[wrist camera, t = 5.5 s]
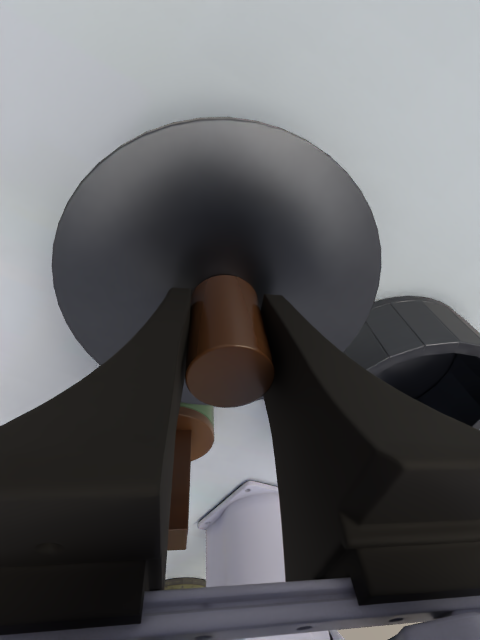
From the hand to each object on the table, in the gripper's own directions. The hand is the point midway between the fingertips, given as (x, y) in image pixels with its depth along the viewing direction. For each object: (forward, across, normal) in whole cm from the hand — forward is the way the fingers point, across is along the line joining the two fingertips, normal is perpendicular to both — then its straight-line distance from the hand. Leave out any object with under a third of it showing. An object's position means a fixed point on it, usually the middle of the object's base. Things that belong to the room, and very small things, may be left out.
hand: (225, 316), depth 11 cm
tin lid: (+1, 0, 0) cm, 1 cm away
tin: (+5, -11, +7) cm, 14 cm away
